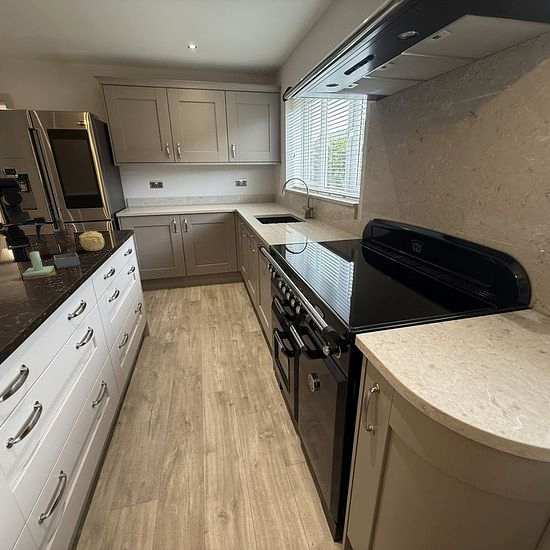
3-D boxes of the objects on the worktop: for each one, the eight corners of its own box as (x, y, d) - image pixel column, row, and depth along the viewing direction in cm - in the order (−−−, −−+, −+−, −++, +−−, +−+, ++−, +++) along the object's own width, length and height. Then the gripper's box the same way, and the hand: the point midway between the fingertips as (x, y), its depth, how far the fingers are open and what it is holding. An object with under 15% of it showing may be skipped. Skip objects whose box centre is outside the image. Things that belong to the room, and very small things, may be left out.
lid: (29, 271, 131) (24, 251, 128) (54, 269, 135) (49, 248, 132) (23, 277, 123) (17, 256, 120) (49, 274, 127) (44, 253, 124)
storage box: (55, 264, 143) (53, 255, 141) (77, 261, 148) (75, 252, 147) (57, 269, 136) (54, 259, 135) (80, 265, 142) (78, 256, 140)
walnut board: (23, 274, 130) (23, 272, 130) (54, 269, 136) (54, 267, 136) (23, 280, 122) (23, 279, 122) (56, 275, 128) (56, 273, 128)
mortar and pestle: (82, 254, 161) (74, 216, 155) (64, 257, 155) (54, 218, 149) (74, 250, 168) (66, 214, 162) (56, 253, 162) (47, 216, 156)
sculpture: (80, 253, 163) (76, 233, 159) (84, 248, 173) (80, 230, 170) (104, 251, 167) (101, 232, 164) (106, 246, 178) (102, 228, 174)
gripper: (-18, 209, 117) (-3, 248, 121) (40, 202, 128) (52, 238, 132) (-15, 211, 126) (-1, 247, 130) (39, 205, 137) (51, 238, 141)
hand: (26, 243), depth 133 cm, fingers open, 9 cm apart
